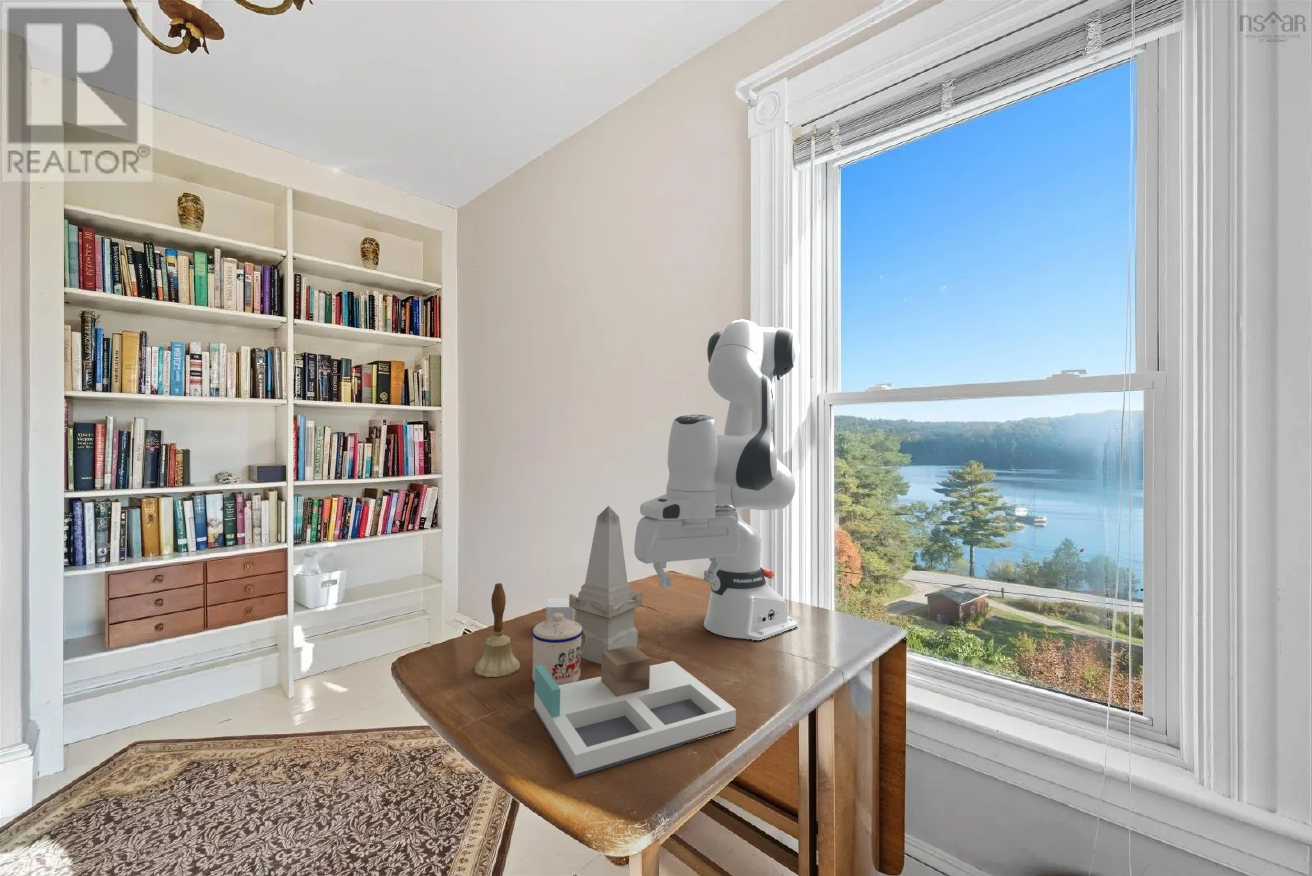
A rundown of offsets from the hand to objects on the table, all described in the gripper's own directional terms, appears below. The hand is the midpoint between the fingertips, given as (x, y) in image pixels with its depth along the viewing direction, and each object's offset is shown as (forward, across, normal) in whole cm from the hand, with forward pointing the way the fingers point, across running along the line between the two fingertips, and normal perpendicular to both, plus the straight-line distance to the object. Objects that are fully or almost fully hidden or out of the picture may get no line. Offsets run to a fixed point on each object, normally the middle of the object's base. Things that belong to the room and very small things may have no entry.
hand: (687, 584), depth 94 cm
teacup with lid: (+19, +17, -14) cm, 29 cm away
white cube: (+19, +10, -36) cm, 42 cm away
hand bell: (+19, +27, -22) cm, 40 cm away
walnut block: (+16, +11, 0) cm, 19 cm away
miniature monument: (+19, +6, -20) cm, 28 cm away
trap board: (+19, +12, +5) cm, 23 cm away
